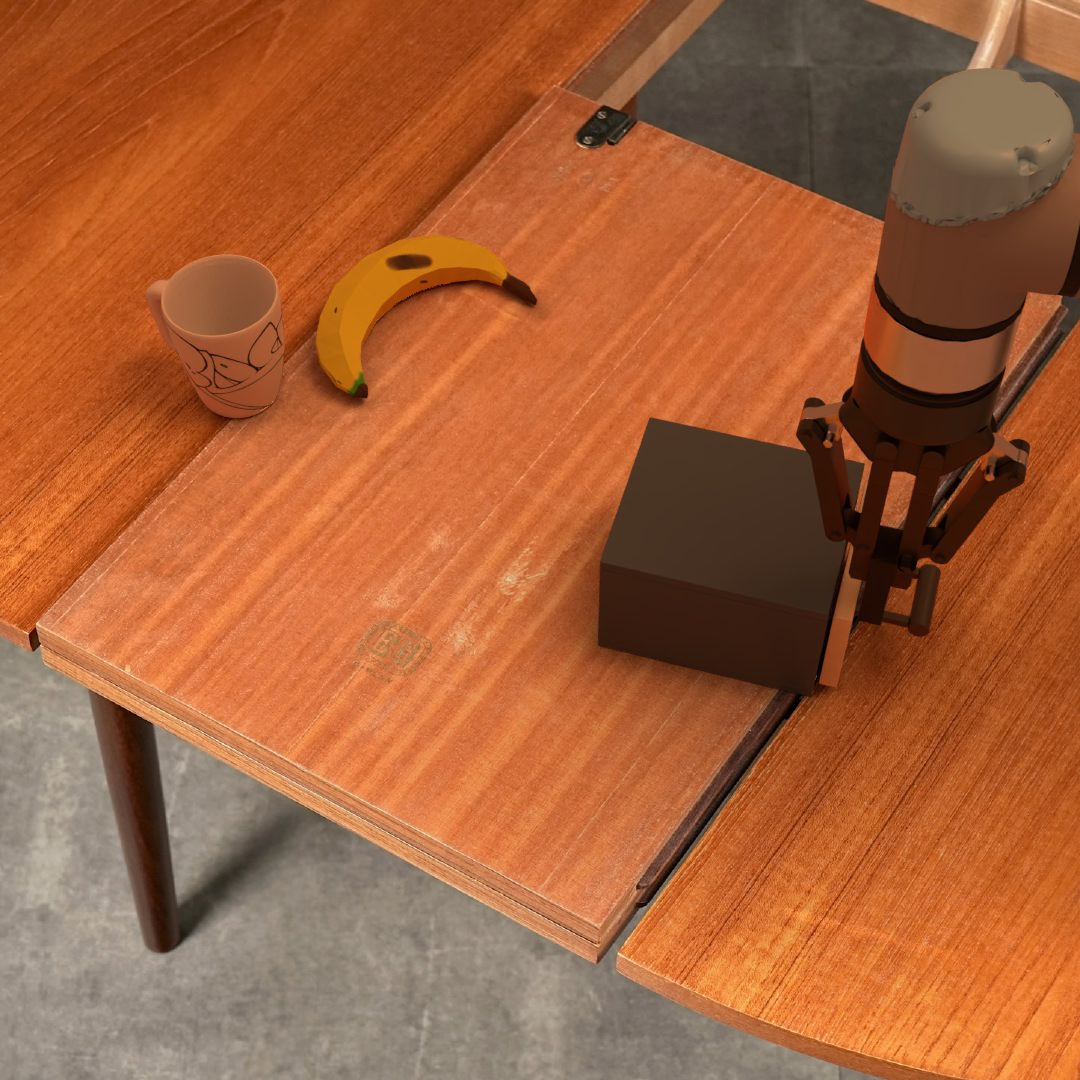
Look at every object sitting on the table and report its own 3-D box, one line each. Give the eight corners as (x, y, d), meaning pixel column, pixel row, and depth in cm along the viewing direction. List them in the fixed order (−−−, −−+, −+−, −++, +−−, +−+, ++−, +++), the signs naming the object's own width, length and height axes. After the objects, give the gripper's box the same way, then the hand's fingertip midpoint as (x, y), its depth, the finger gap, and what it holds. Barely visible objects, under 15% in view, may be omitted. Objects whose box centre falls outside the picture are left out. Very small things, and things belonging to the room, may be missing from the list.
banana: (288, 354, 125) (479, 420, 124) (374, 192, 134) (553, 252, 133) (289, 390, 129) (474, 454, 128) (373, 230, 138) (546, 289, 137)
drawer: (938, 569, 117) (958, 499, 111) (911, 705, 110) (931, 639, 104) (678, 511, 120) (684, 439, 114) (637, 640, 114) (641, 571, 107)
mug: (131, 390, 129) (102, 295, 121) (199, 320, 133) (175, 225, 125) (253, 446, 126) (232, 353, 118) (318, 373, 130) (302, 278, 122)
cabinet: (846, 550, 119) (865, 462, 111) (811, 697, 112) (828, 615, 104) (644, 504, 122) (649, 416, 114) (597, 645, 115) (599, 561, 107)
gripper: (1070, 321, 89) (984, 582, 108) (824, 274, 91) (783, 538, 110) (1054, 425, 85) (968, 679, 104) (796, 373, 87) (758, 630, 106)
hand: (872, 606), depth 107 cm, fingers closed
